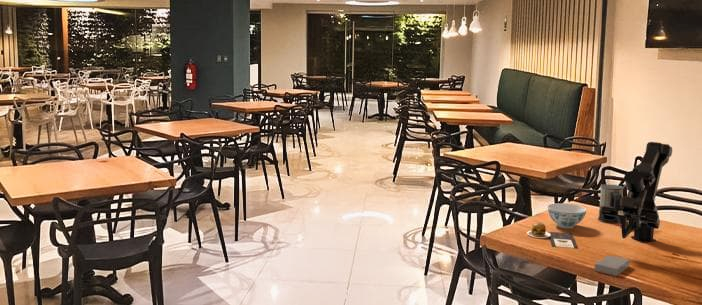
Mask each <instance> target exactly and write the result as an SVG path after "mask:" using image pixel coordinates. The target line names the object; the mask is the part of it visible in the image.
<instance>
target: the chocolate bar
mask: <svg viewBox="0 0 702 305" xmlns="http://www.w3.org/2000/svg"><path fill="white" fill-rule="evenodd" d="M547 232H548V233H550V234H551V236H550V237H548V238H549V240H550V242H549V243H550V245H551V247H553V248H554V247H555V248H565V249H566V248H569V249H578V248H579V247H578V244H577V242H576V240H575V237H574V235H573V233H571V232H556V231H547Z"/></svg>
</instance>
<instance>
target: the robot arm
mask: <svg viewBox="0 0 702 305" xmlns="http://www.w3.org/2000/svg"><path fill="white" fill-rule="evenodd" d="M672 154H673V147H672V146H670V144H669V143H668V144H667V143H662V142H658V141H648V142H647V143H646V146H645V152H644V155H643V157H642V159H641V161H640V163H639V164H637V165H635V166H634V167H633V168H632V170H630V171H628V172H627V173H625V174H624V177H623V178H624V182H625V183H624V184H625V188H626V190H627V191H628V192H627V195H626V196H624V195H623V196H622V197H621V202H620V206H621V210H622V211H618V212H617V211H615V210H614V207H610V206H603V207H601V210H600V212H601V215H602V218H603V219H604V220H609V221H613V220H615V217H617V220H618V223H617V224H618V225H620V226H621V229H620V230H621V238H622V239H626V238H627V237H628V236H629V235H631V233H632V232H633V235H631V236H630V238H631V239H634V240H636V241H638V242H640V243H650V242H656V241H657V239H656V238H654V234H655V230H657V229H660V223H661V220H660V215H659V211H658V207H657V205H656V202H655V200H656V195H657V191H658V186H659V183H660V180H661V175H662V174H661V173H662V170H663V167H664V166H666V164H668V163H669V160H670V157H672ZM627 219H629V221H626V220H627Z"/></svg>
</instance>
